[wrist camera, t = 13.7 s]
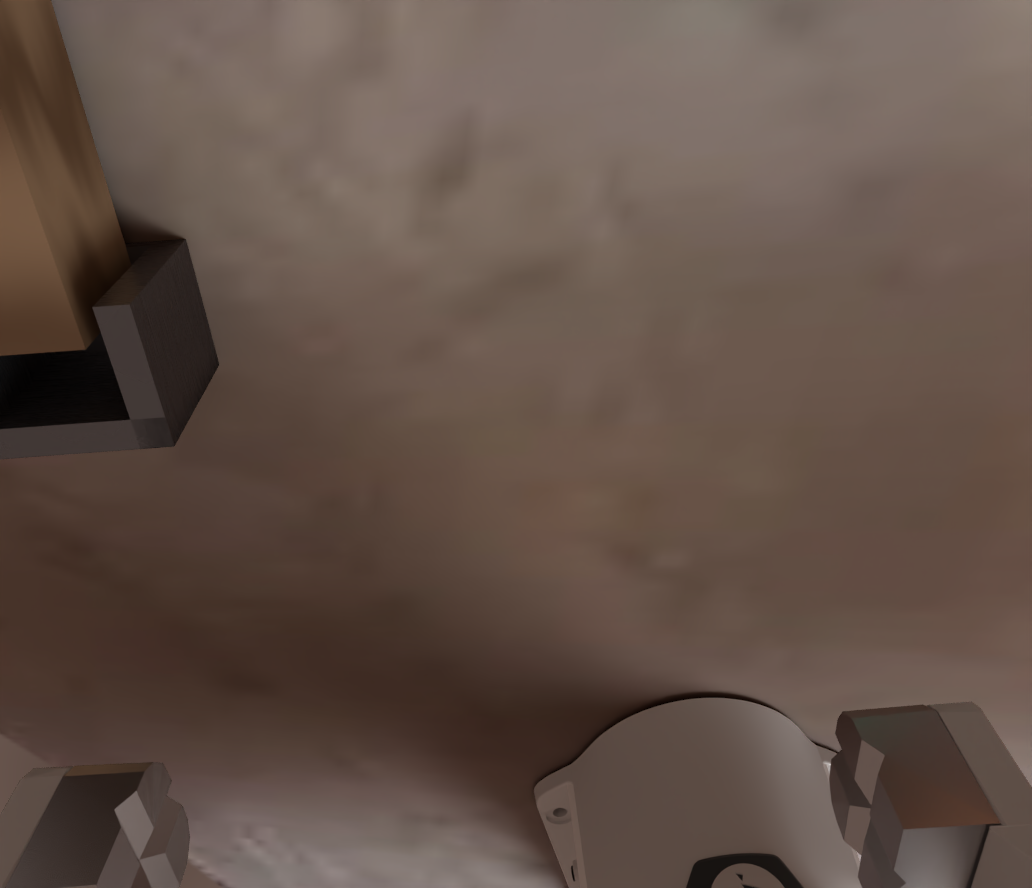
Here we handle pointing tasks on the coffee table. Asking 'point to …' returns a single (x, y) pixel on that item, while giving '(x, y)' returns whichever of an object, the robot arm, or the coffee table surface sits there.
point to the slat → (49, 194)
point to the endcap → (117, 367)
